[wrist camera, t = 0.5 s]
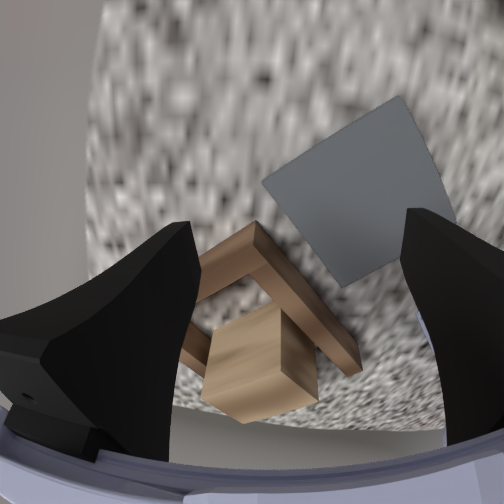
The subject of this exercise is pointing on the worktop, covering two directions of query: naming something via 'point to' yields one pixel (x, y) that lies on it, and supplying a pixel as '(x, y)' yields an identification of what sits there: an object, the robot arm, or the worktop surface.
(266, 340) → the gripped blank
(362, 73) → the worktop surface
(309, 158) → the mat
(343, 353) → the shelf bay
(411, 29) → the worktop surface
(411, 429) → the worktop surface
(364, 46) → the worktop surface
